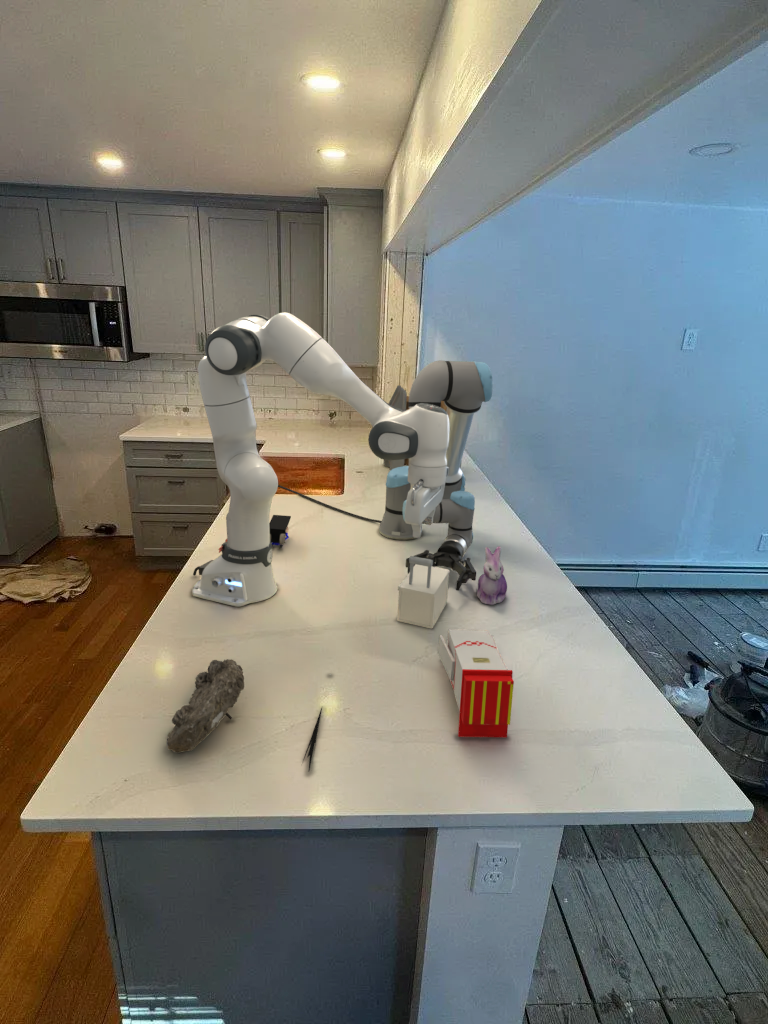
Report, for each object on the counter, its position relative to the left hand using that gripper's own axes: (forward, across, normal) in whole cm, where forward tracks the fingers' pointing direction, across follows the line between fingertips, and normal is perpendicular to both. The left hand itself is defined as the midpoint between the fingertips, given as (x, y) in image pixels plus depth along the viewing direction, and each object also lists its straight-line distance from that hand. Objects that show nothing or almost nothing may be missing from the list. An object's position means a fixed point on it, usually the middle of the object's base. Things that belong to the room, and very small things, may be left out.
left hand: (422, 530), depth 136 cm
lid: (+16, +5, 0) cm, 17 cm away
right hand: (+18, +11, -1) cm, 22 cm away
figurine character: (+25, +28, +57) cm, 68 cm away
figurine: (+25, +21, -15) cm, 36 cm away
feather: (+25, -43, +6) cm, 50 cm away
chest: (+25, +5, 0) cm, 26 cm away
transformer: (+25, +133, +40) cm, 141 cm away
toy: (+25, -22, -19) cm, 39 cm away
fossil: (+25, -50, +25) cm, 61 cm away
